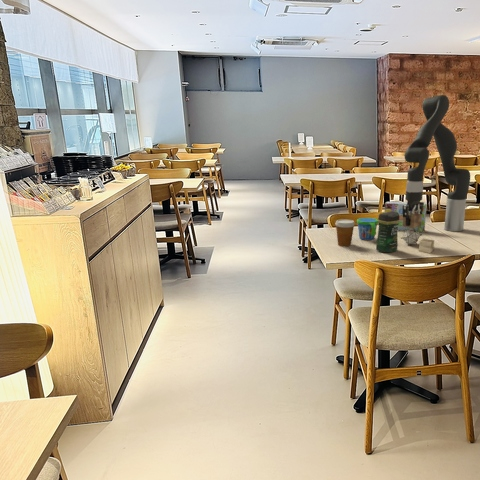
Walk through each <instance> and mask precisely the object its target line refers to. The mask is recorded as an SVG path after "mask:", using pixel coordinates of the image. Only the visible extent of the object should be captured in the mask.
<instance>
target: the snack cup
mask: <svg viewBox="0 0 480 480" xmlns="http://www.w3.org/2000/svg"><path fill="white" fill-rule="evenodd" d="M356 223H357V227H358V229H357V230H358V237H359V239H361V240H364V241H371V240H374V239H375V237H376V235H377V227H378V225H379V223H378V219H377V218H375V217H374V218H373V217H359V218H358V219H356Z"/></svg>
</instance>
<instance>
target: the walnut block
mask: <svg viewBox="0 0 480 480" xmlns="http://www.w3.org/2000/svg"><path fill="white" fill-rule="evenodd" d="M405 215H406V214H405ZM421 221H422V214H417V213H413V214H412V215H411V223H410V226H406V224H405V223H406V218H405V217H403V226H404V227H409V228H417V227H421Z"/></svg>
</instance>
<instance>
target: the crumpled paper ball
mask: <svg viewBox="0 0 480 480" xmlns="http://www.w3.org/2000/svg"><path fill="white" fill-rule="evenodd" d="M405 230H406V229H405ZM421 236H422V234H419V232H416V230H414V228H413V229H410V230H406V231H404V233H403V235H402V237H400V239H401V240H402V239H403V241H404V242H405V243H406V244H407V246H408V247H409V246H410V245H412V244H414V245H418V243H417V242H418V241H419V240H420V239H419V238H420V237H421Z"/></svg>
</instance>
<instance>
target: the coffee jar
mask: <svg viewBox="0 0 480 480" xmlns="http://www.w3.org/2000/svg"><path fill="white" fill-rule="evenodd" d="M398 223H399V213H398V212H393V211H390V212H385V213H384V212H381V213H379V214H378V231H377V240H376V248H375V249H376V250H377V251H378V252H380V253H386V254H387V253H388V254H389V253H392V252H396V251H397V250H398V246H399V245H398V234H399V233H398V231H399V230H398Z"/></svg>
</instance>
